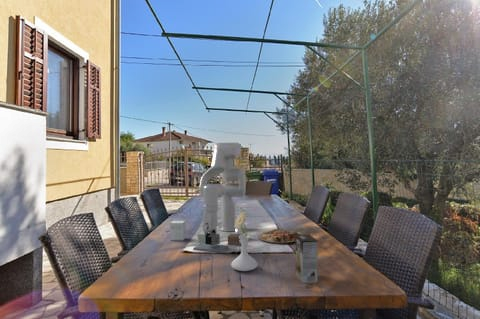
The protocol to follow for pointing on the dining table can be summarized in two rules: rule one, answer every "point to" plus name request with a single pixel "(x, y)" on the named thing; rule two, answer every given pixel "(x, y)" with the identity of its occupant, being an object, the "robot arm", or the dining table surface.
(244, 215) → the flower in vase
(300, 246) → the coffee box
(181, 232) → the small box
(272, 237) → the rice dish
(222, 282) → the dining table surface
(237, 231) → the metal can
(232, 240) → the walnut block
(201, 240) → the sage block
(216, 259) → the dining table surface
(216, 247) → the slate mat
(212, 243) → the dice cube
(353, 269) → the dining table surface
